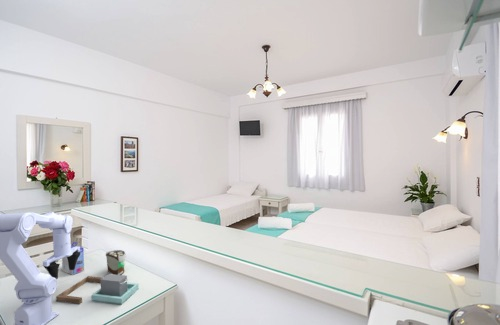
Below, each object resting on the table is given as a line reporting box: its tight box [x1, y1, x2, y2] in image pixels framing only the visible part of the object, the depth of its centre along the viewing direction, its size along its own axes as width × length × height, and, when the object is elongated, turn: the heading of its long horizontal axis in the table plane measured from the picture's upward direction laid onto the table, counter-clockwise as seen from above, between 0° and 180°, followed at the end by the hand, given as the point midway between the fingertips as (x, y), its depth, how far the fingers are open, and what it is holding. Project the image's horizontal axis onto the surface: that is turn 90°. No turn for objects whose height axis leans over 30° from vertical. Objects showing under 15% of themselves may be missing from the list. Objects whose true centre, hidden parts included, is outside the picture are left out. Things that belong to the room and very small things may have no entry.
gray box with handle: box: [100, 273, 129, 297], centre depth 98 cm, size 4×10×7 cm, turn 80°
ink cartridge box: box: [61, 241, 85, 276], centre depth 118 cm, size 10×6×14 cm, turn 66°
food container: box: [105, 249, 127, 275], centre depth 117 cm, size 12×6×10 cm, turn 59°
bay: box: [55, 275, 103, 305], centre depth 101 cm, size 15×11×2 cm
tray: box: [90, 282, 139, 305], centre depth 98 cm, size 10×14×2 cm
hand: (63, 274), depth 97 cm, fingers open, 7 cm apart
